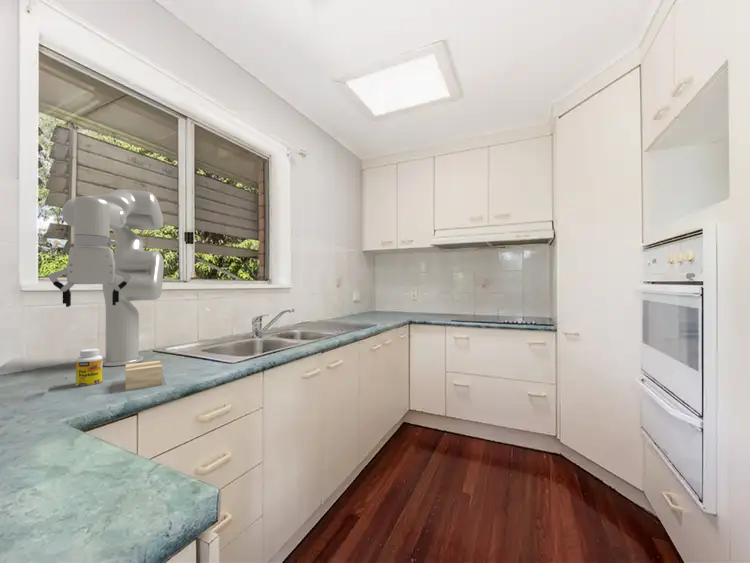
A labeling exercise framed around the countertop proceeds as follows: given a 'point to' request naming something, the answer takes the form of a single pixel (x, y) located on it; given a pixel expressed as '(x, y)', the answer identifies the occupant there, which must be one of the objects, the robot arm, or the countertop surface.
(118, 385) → the slate tile
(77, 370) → the supplement bottle
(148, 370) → the maple block
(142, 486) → the countertop surface
